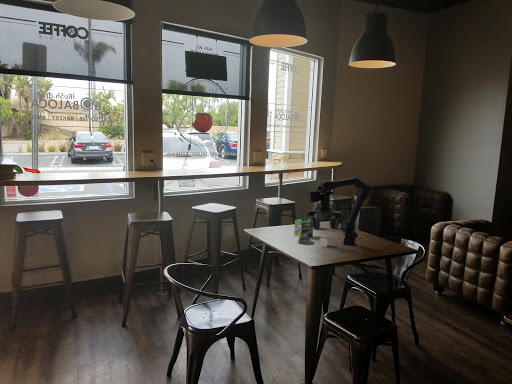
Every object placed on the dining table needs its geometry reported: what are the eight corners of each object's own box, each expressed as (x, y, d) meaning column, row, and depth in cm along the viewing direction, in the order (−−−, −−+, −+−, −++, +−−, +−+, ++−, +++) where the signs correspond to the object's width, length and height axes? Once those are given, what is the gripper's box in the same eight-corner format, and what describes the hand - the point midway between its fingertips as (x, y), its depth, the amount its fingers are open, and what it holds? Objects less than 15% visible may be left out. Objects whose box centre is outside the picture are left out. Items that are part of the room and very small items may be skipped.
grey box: (326, 244, 237) (327, 234, 236) (326, 246, 232) (326, 236, 231) (320, 244, 237) (320, 234, 237) (319, 246, 233) (320, 236, 232)
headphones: (313, 230, 278) (314, 204, 276) (309, 227, 285) (311, 202, 282) (339, 229, 282) (340, 204, 279) (335, 227, 289) (337, 202, 286)
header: (310, 241, 244) (310, 237, 244) (309, 244, 236) (310, 241, 235) (299, 240, 245) (299, 236, 245) (298, 244, 237) (298, 240, 237)
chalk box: (305, 235, 263) (306, 213, 261) (313, 238, 255) (314, 216, 253) (293, 236, 259) (294, 214, 257) (301, 240, 251) (301, 217, 249)
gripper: (308, 203, 225) (307, 230, 227) (341, 205, 221) (340, 232, 223) (309, 200, 235) (308, 225, 238) (341, 201, 232) (340, 227, 234)
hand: (324, 227), depth 233 cm, fingers open, 9 cm apart
